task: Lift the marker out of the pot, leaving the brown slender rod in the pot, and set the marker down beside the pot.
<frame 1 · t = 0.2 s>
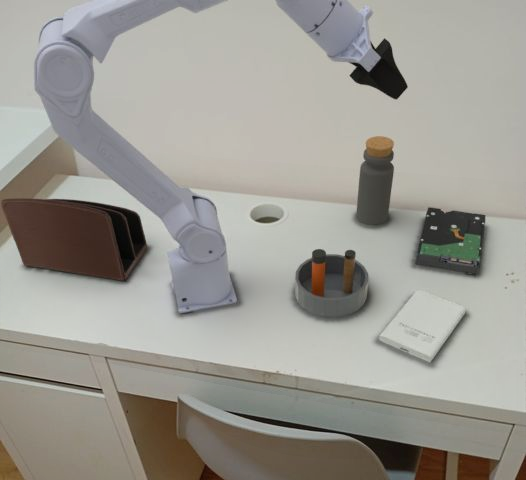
hand: (390, 81, 76), 31 cm above the table, tool tilted 45°, fingers open, 7 cm apart
letter holder: (87, 258, 104), on the table
pot: (330, 295, 94), on the table
disk drive: (449, 246, 101), on the table
bottle: (371, 219, 108), on the table
hard drive: (422, 329, 87), on the table
marker: (317, 295, 93), resting on pot
brown slender rod: (347, 290, 94), resting on pot
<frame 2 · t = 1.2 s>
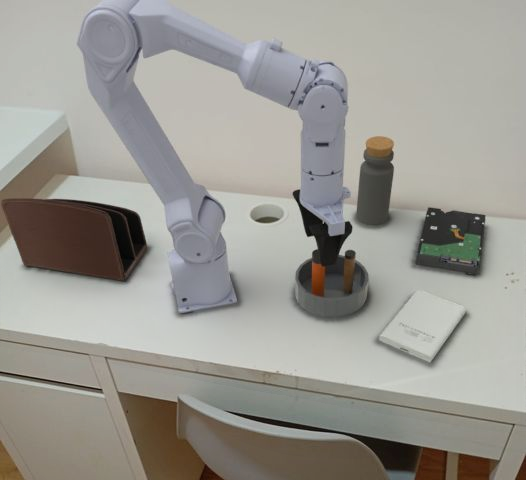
hand: (320, 249, 86), 10 cm above the table, tool pointing down, fingers open, 7 cm apart
nothing on the table moved.
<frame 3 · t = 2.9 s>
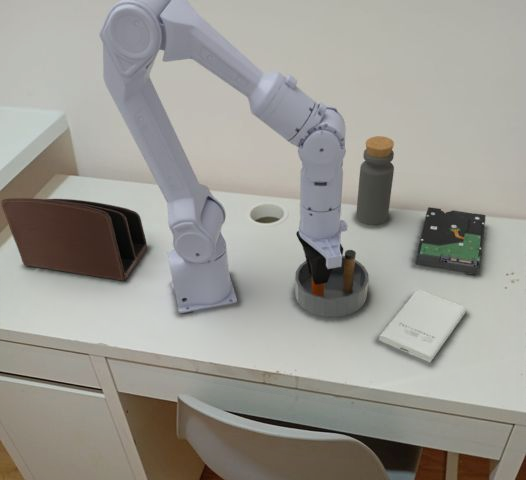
hand: (318, 277, 90), 4 cm above the table, tool pointing down, fingers closed on marker, 2 cm apart
marker: (317, 295, 93), resting on pot, touching gripper
everything else where it was.
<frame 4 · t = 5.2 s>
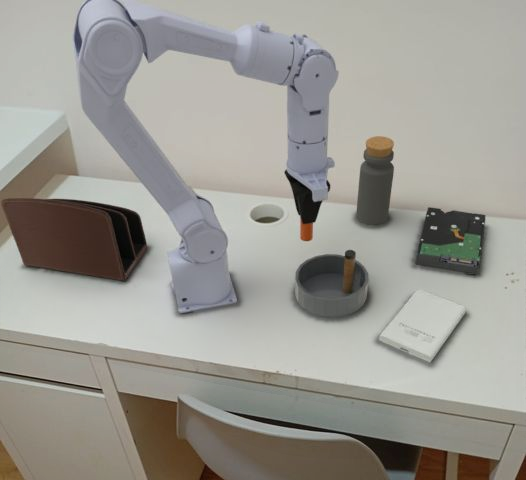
hand: (306, 217, 91), 10 cm above the table, tool pointing down, fingers closed on marker
marker: (306, 237, 94), point 7 cm above the table, touching gripper
everything else where it was.
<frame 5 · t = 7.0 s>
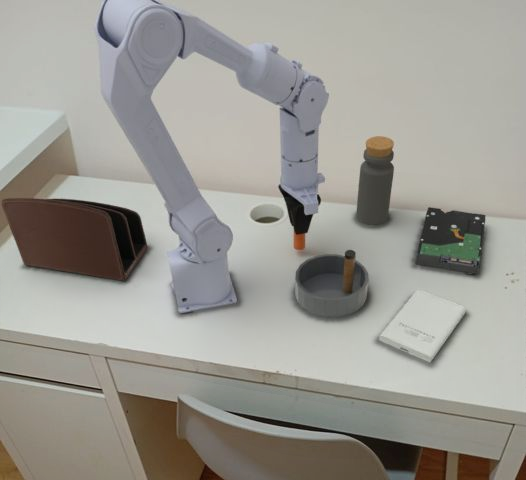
hand: (299, 228, 98), 5 cm above the table, tool pointing down, fingers closed on marker, 2 cm apart
marker: (299, 246, 100), point 2 cm above the table, touching gripper
everything else where it was.
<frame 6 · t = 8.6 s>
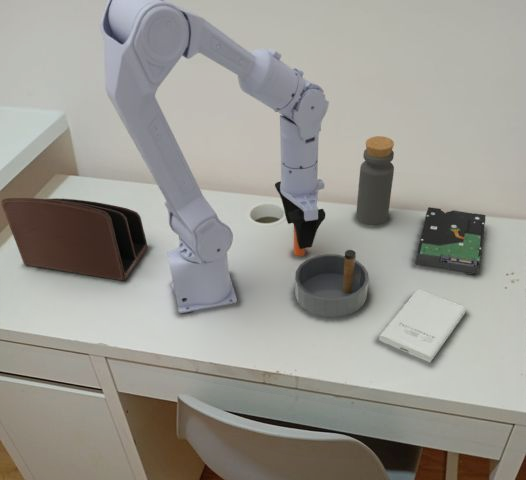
hand: (299, 234, 98), 4 cm above the table, tool pointing down, fingers open, 7 cm apart
marker: (299, 254, 102), on the table
everything else where it was.
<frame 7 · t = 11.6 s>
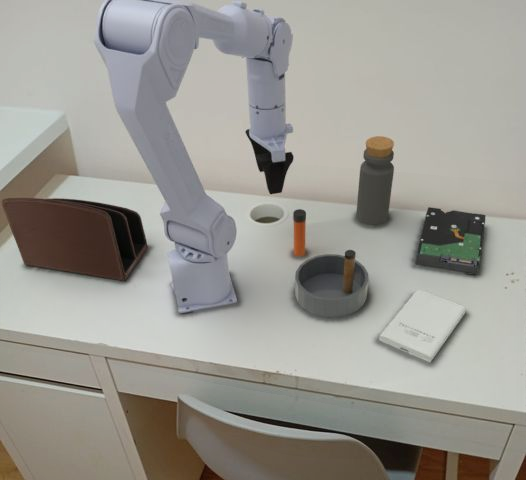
hand: (270, 181, 99), 10 cm above the table, tool pointing down, fingers open, 7 cm apart
nothing on the table moved.
at the end: marker inside the target area (1.3 cm from its centre), on the table; the gripper is holding nothing; brown slender rod inside the target area in the pot (2.8 cm from its centre), point 0.4 cm above the pot's base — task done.
